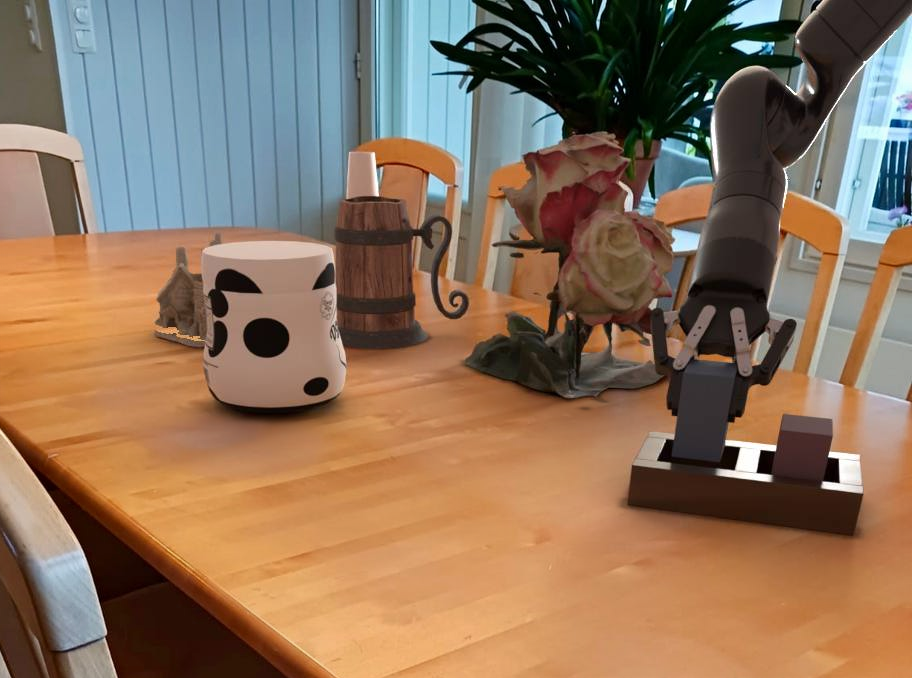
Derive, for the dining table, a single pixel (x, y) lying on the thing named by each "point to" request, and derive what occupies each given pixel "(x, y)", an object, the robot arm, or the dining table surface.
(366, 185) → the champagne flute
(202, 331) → the ceramic cottage
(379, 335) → the tankard
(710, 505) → the frame
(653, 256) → the rose bouquet
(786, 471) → the seated pad
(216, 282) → the milk container
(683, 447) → the blue-gray rectangular block
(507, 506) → the dining table surface
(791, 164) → the robot arm
